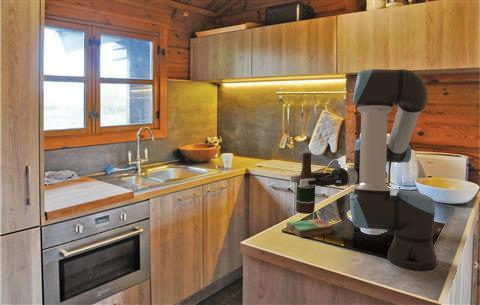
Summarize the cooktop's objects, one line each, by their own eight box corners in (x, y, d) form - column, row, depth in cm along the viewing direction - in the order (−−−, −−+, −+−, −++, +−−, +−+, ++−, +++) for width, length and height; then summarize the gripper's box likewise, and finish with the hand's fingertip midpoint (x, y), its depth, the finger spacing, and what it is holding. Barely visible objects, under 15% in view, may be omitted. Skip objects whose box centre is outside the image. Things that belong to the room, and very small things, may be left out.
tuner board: (332, 232, 160) (332, 226, 159) (299, 237, 154) (300, 230, 154) (317, 224, 170) (317, 218, 169) (286, 228, 164) (286, 222, 164)
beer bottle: (301, 207, 165) (303, 151, 161) (318, 211, 160) (320, 152, 156) (291, 211, 159) (293, 153, 155) (308, 215, 154) (310, 155, 151)
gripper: (358, 191, 155) (308, 196, 147) (329, 180, 174) (283, 184, 166) (359, 172, 154) (308, 176, 146) (330, 164, 173) (283, 167, 164)
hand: (295, 181), depth 156 cm, fingers closed on beer bottle, 7 cm apart
